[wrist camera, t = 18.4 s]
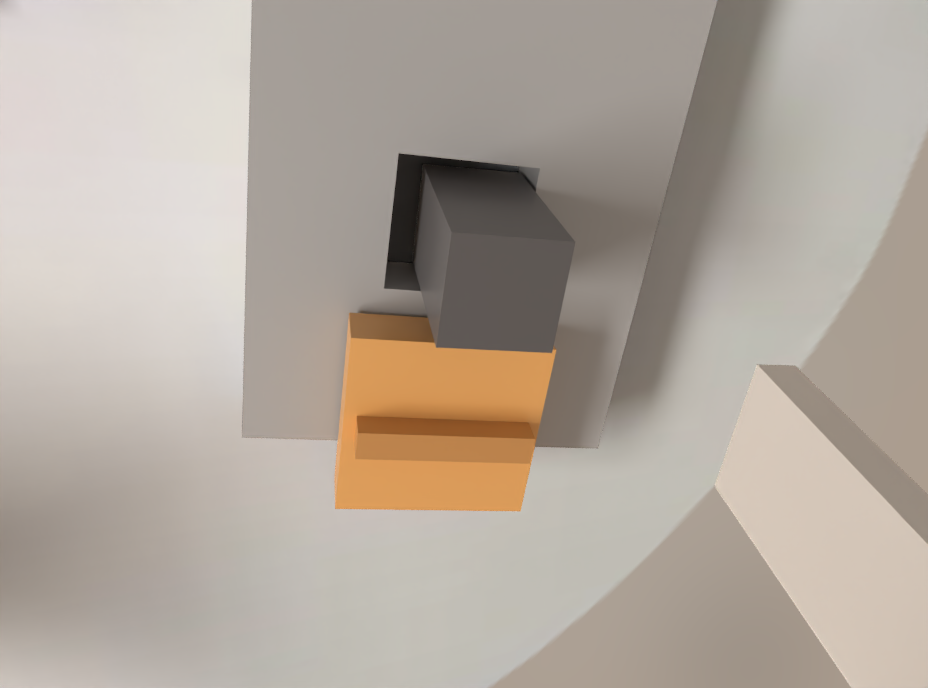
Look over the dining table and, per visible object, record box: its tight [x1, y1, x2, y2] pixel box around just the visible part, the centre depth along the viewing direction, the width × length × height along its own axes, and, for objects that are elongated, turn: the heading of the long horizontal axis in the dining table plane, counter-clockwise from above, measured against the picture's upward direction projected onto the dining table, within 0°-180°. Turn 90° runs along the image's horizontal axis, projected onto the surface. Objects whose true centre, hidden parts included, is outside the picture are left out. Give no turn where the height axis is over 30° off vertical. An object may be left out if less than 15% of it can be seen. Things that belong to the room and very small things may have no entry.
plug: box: [412, 164, 575, 353], centre depth 29 cm, size 4×4×9 cm
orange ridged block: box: [335, 313, 556, 511], centre depth 32 cm, size 8×8×3 cm
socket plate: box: [242, 0, 718, 448], centre depth 32 cm, size 20×16×3 cm
